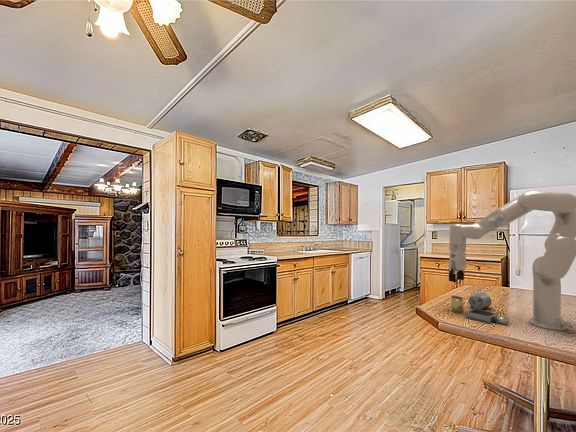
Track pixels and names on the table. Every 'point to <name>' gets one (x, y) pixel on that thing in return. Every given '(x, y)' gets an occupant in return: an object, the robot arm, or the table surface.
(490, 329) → the table surface
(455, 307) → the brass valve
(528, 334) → the table surface
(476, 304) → the grey-teal rounded cylinder
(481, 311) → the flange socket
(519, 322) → the table surface
